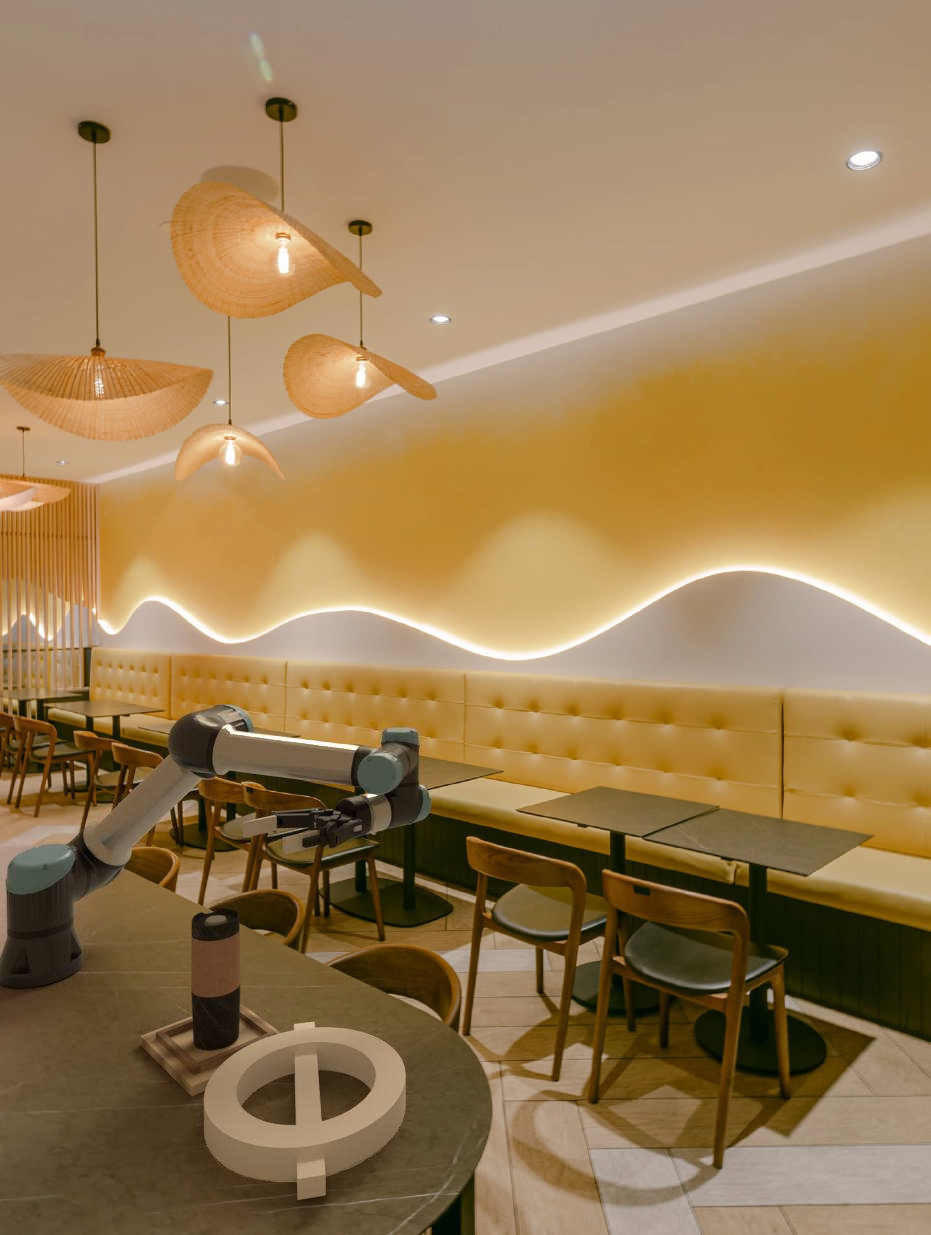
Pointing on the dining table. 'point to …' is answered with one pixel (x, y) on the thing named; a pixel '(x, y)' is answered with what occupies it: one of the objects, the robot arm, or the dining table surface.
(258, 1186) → the dining table surface
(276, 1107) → the dining table surface
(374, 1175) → the dining table surface
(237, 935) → the travel mug
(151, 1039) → the board
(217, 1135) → the ring with crossbar
